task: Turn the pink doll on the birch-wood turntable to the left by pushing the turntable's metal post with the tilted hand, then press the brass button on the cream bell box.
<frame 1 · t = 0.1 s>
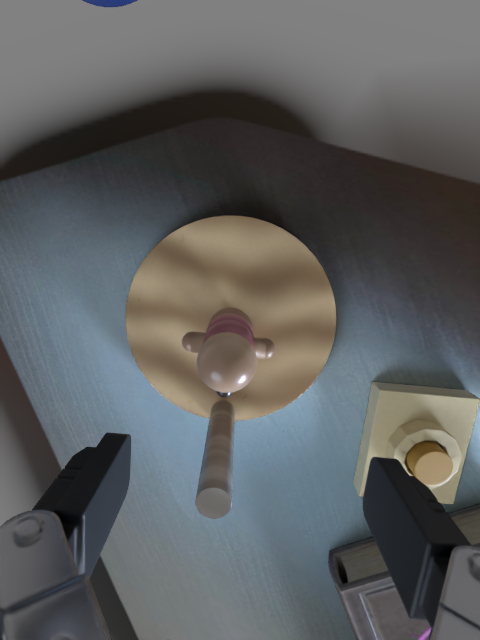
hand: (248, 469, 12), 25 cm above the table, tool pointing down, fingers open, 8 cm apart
bell box: (408, 437, 39), on the table
book: (449, 620, 45), on the table
bell button: (429, 462, 35), point 4 cm above the table, slide at 0.1 cm
turntable: (229, 343, 29), point 8 cm above the table, hinge at 0.0°
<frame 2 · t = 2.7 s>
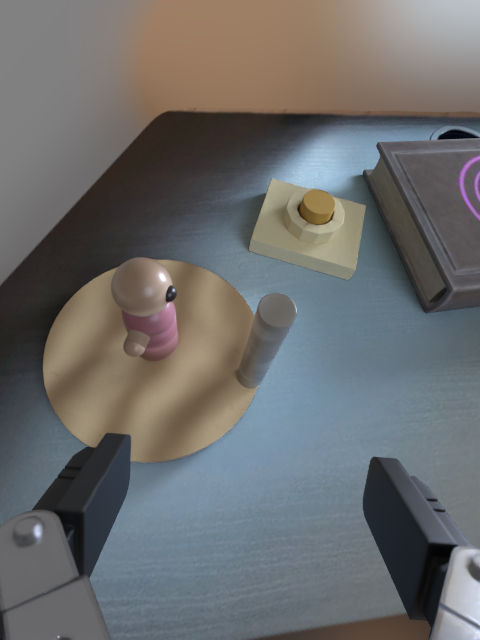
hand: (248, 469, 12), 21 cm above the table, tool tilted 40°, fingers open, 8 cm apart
bell box: (306, 233, 45), on the table
bell button: (317, 207, 41), point 4 cm above the table, slide at 0.1 cm
turntable: (151, 319, 29), point 8 cm above the table, hinge at 0.0°
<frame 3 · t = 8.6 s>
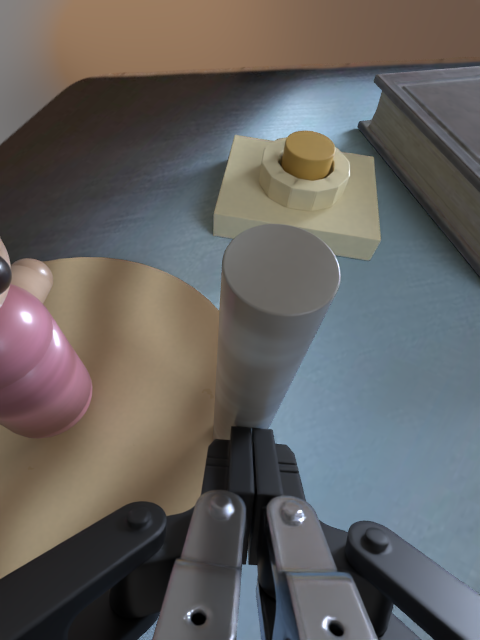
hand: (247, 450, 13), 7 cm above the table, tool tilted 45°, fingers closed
bell box: (295, 204, 30), on the table
bell button: (307, 156, 27), point 4 cm above the table, slide at 0.1 cm
turntable: (8, 354, 13), point 8 cm above the table, hinge at 0.2°, touching gripper
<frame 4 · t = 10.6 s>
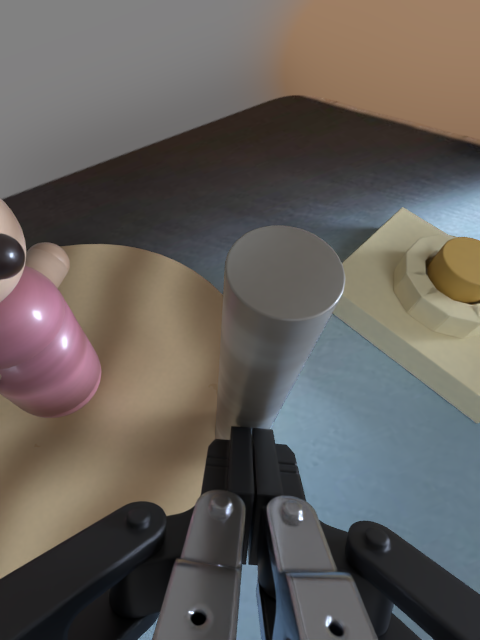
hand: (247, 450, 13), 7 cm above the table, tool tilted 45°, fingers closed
bell box: (426, 310, 25), on the table
bell button: (465, 269, 21), point 4 cm above the table, slide at 0.1 cm
turntable: (21, 334, 14), point 8 cm above the table, hinge at 30.1°, touching gripper
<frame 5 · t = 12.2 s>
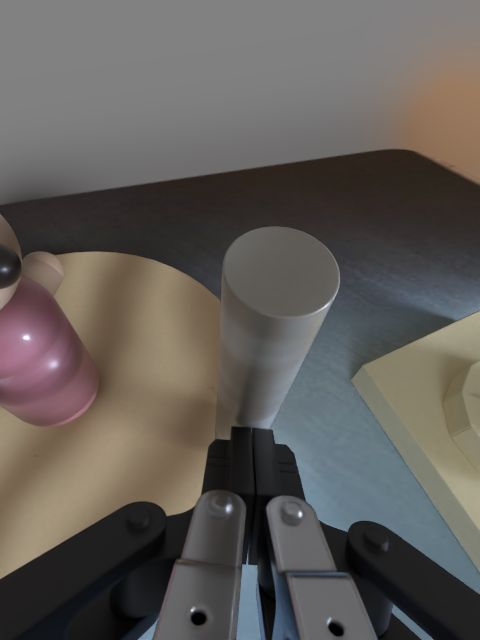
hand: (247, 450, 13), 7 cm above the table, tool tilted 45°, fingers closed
turntable: (18, 343, 14), point 8 cm above the table, hinge at 52.7°
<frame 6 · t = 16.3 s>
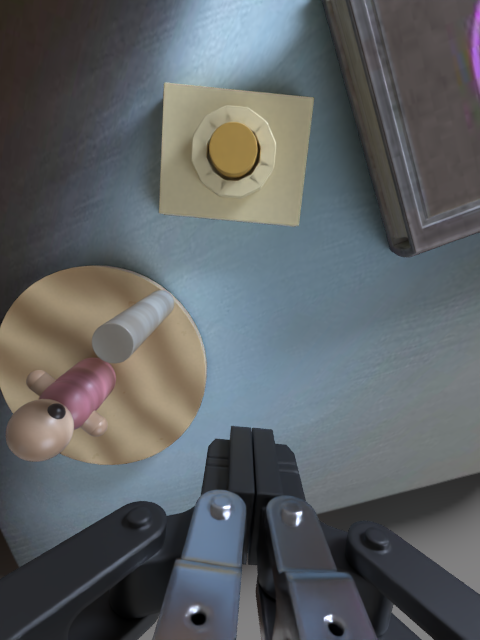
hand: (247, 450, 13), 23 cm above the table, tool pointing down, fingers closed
bell box: (234, 162, 32), on the table
bell button: (233, 150, 28), point 4 cm above the table, slide at 0.1 cm
turntable: (74, 397, 29), point 8 cm above the table, hinge at 52.7°
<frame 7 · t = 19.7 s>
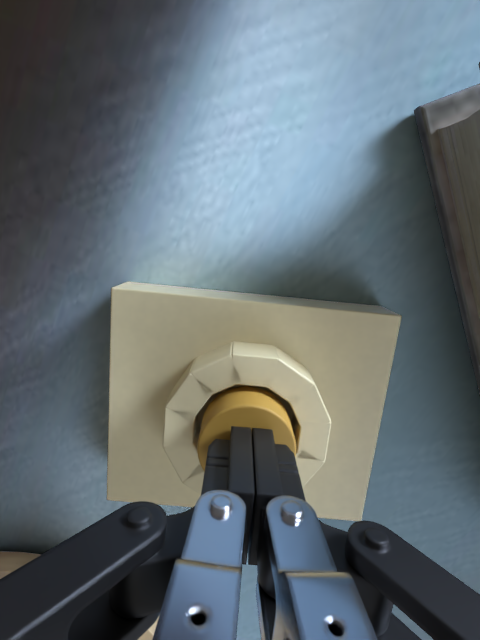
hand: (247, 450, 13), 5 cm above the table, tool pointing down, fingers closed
bell box: (244, 393, 18), on the table
bell button: (246, 438, 14), point 4 cm above the table, slide at -0.2 cm, touching gripper
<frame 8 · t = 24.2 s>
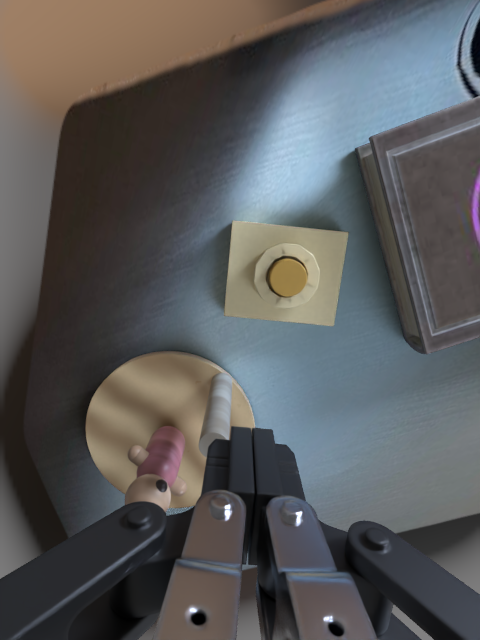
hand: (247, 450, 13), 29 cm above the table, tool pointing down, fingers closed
bell box: (282, 273, 41), on the table
bell button: (287, 277, 36), point 4 cm above the table, slide at 0.1 cm
turntable: (160, 464, 37), point 8 cm above the table, hinge at 52.7°
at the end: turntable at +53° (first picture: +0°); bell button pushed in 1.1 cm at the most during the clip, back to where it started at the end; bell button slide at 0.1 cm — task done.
